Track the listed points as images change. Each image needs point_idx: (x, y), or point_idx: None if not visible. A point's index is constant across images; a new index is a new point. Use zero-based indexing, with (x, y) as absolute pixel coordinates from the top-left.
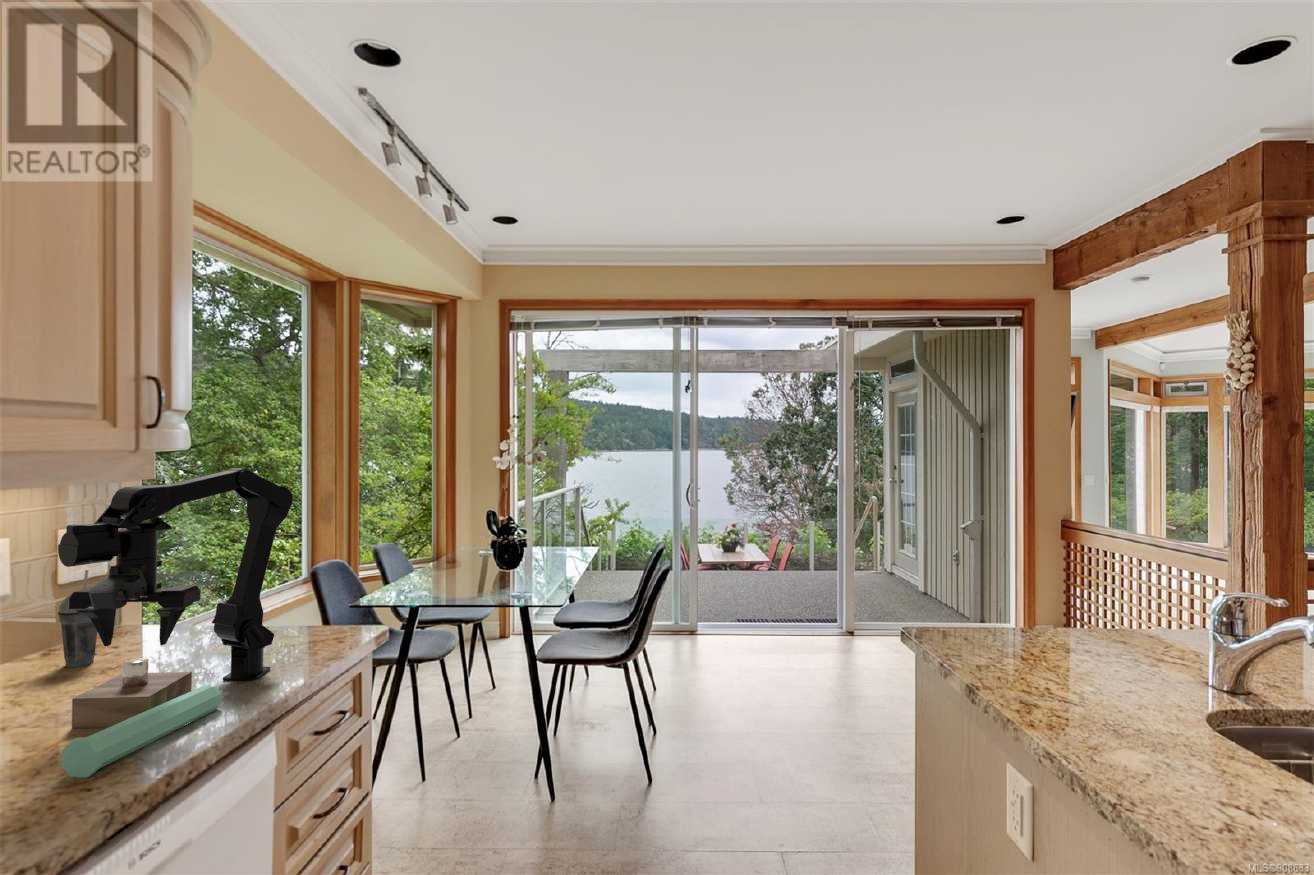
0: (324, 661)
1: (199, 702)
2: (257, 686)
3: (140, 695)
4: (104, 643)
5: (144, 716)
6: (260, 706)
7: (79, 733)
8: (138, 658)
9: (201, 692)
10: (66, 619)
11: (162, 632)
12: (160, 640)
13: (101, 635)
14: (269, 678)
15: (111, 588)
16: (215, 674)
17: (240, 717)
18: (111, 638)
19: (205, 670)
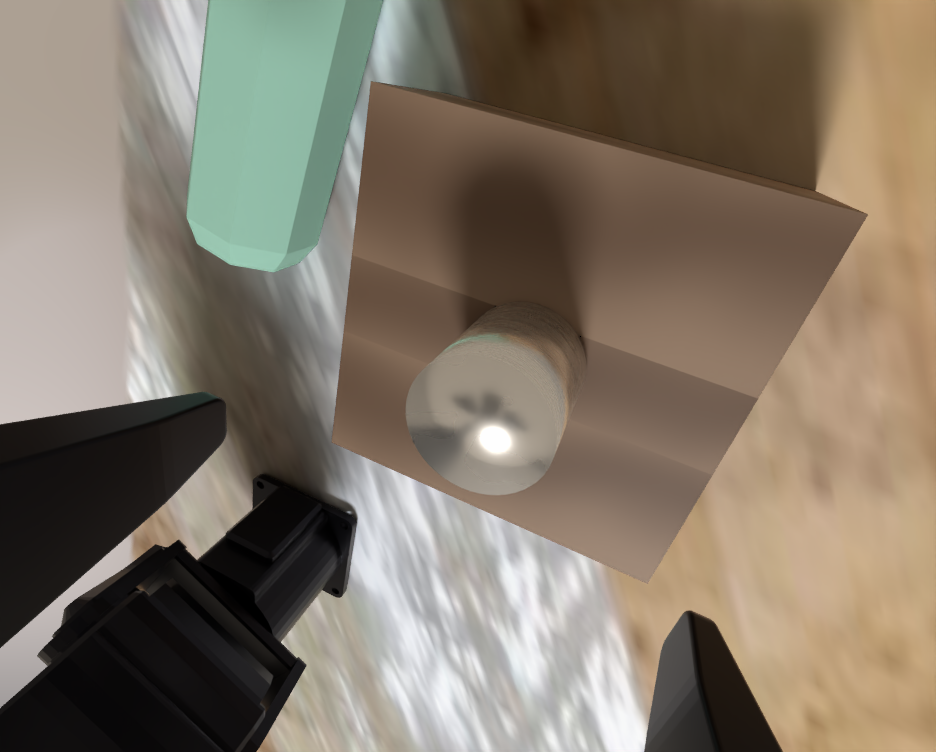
0: (153, 534)
1: (200, 76)
2: (233, 408)
3: (426, 121)
4: (710, 639)
5: None
6: (138, 188)
7: (757, 96)
8: (483, 490)
9: (195, 143)
10: None
11: (68, 426)
12: (176, 407)
13: (756, 748)
14: (230, 467)
15: None
16: (404, 595)
17: (147, 81)
18: (654, 710)
19: (448, 650)
